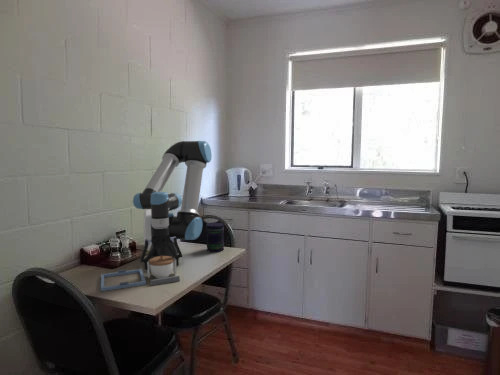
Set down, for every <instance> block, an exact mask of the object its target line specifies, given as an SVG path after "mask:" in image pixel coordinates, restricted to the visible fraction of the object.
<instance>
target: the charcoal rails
mask: <svg viewBox="0 0 500 375" xmlns="http://www.w3.org/2000/svg"><path fill="white" fill-rule="evenodd" d="M149 270H150V266H149ZM145 272H146V273H147V270H145ZM150 273H151V270H150ZM180 278H181V276H180V275H175V276H169V277H167V278H160V279H158V278H155V279H150V286H156V285H163V284H168V283H169V284H170V283H176V282H180V280H181V279H180Z"/></svg>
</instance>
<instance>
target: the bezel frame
mask: <svg viewBox="0 0 500 375" xmlns="http://www.w3.org/2000/svg"><path fill="white" fill-rule="evenodd" d="M138 273H139V276H140V280H141V281H136V282H129V283H128V281H124V282H119V284H116V285H115V284H114V285H110V286H109V285H108V286H105V278H109V277H116V276H123V275H125V276H126V275H130V274H138ZM100 278H101V279H100V292H104V291H113V290H118V289H126V288H131V287H138V286H143V285H144V286H145V285H147V281H146V278H145V275H144V272H143V269H142V268H138V269H131V270H126V269H119V270H118V271H115V272H109V273H101V274H100Z"/></svg>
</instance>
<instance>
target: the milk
mask: <svg viewBox="0 0 500 375" xmlns="http://www.w3.org/2000/svg"><path fill="white" fill-rule="evenodd" d="M145 239H147V240H151V209H144V212H143V246H144V245H145ZM151 244H152V242H150V244H149V245H148V248H147V250H150V248H151Z"/></svg>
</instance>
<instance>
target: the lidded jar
mask: <svg viewBox="0 0 500 375" xmlns="http://www.w3.org/2000/svg"><path fill="white" fill-rule="evenodd" d="M148 262H149V267H150V270H151V272H150V273H151V274H152V276H154V277H155V279H160V278H167V277H170V275H171V274H172V272H174V258H173V257H170V256H158V257H154V258H151V259H150V260H149V261H148Z"/></svg>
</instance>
